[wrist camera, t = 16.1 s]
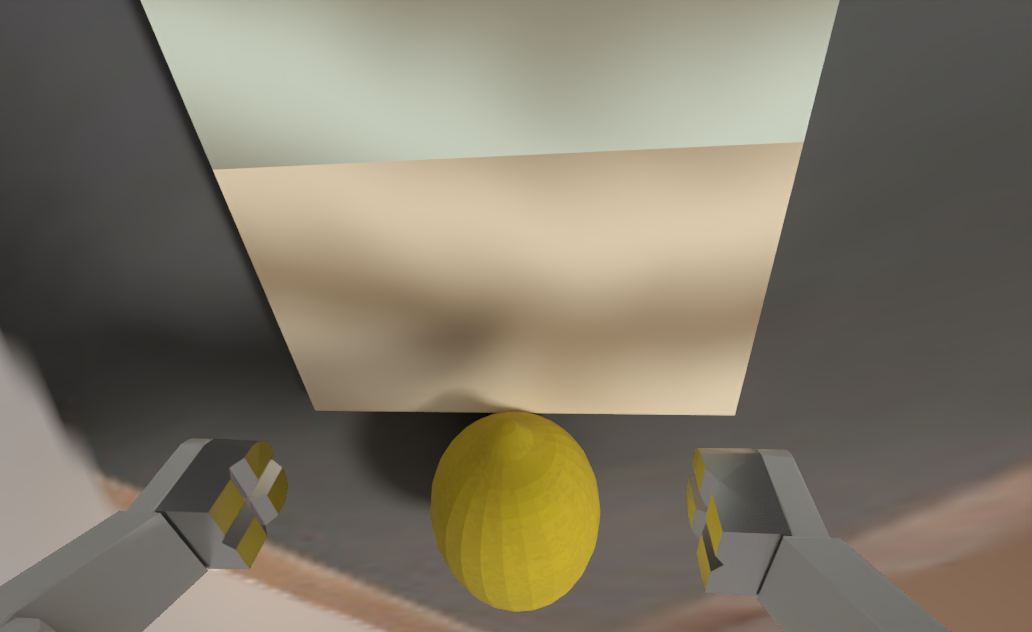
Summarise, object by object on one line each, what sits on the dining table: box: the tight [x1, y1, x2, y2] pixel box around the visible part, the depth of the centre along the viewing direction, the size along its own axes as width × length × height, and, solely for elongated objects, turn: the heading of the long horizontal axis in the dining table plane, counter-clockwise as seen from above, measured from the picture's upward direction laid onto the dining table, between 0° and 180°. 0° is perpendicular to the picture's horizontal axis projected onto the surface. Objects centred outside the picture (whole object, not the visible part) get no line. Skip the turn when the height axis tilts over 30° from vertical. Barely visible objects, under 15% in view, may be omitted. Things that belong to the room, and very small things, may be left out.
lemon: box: [431, 411, 600, 612], centre depth 17 cm, size 6×6×8 cm
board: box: [141, 0, 839, 415], centre depth 12 cm, size 17×14×1 cm
